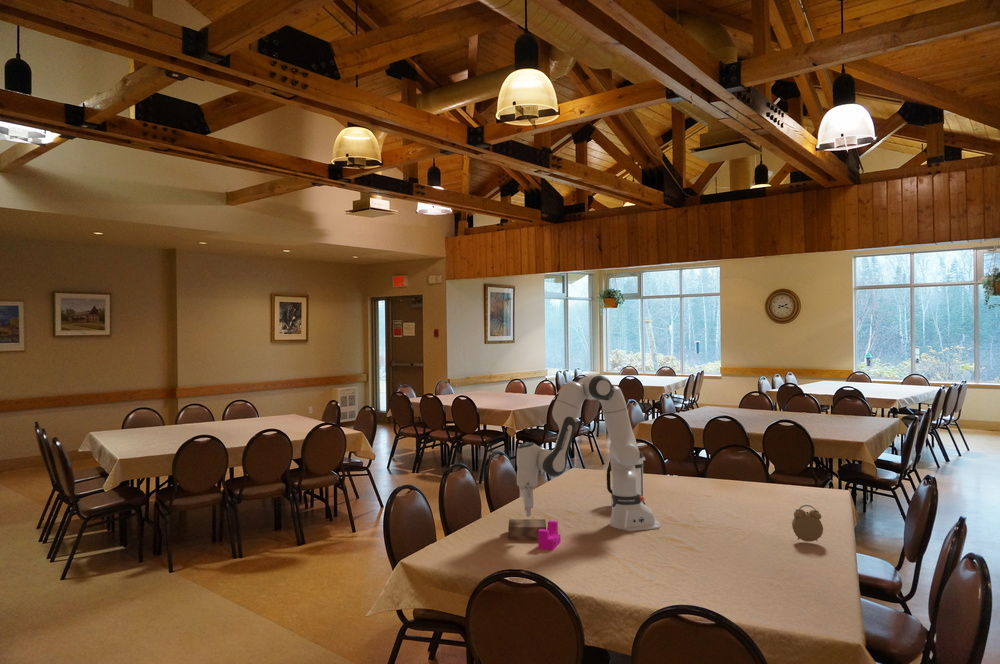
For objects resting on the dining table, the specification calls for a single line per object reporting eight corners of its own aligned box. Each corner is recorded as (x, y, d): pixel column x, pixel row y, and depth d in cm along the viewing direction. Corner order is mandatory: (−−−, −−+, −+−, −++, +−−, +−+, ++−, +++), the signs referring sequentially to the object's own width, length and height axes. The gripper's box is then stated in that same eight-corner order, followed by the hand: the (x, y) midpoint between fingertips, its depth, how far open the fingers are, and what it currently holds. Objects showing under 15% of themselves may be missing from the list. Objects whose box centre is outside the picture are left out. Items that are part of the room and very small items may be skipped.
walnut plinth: (545, 533, 272) (545, 519, 272) (546, 541, 261) (546, 527, 261) (509, 533, 273) (509, 519, 273) (508, 541, 262) (508, 527, 262)
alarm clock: (821, 540, 256) (821, 504, 256) (824, 544, 251) (823, 507, 251) (792, 538, 259) (791, 502, 259) (793, 541, 255) (793, 505, 255)
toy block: (553, 551, 249) (552, 532, 249) (538, 549, 251) (538, 530, 251) (563, 539, 263) (563, 521, 263) (549, 537, 265) (549, 520, 265)
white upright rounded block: (625, 498, 327) (624, 441, 327) (652, 503, 316) (651, 444, 316) (606, 504, 315) (605, 445, 315) (633, 510, 303) (632, 449, 304)
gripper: (536, 486, 256) (537, 519, 256) (532, 475, 277) (532, 506, 277) (521, 486, 256) (521, 520, 256) (518, 475, 277) (518, 506, 276)
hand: (527, 513), depth 266 cm, fingers open, 8 cm apart
